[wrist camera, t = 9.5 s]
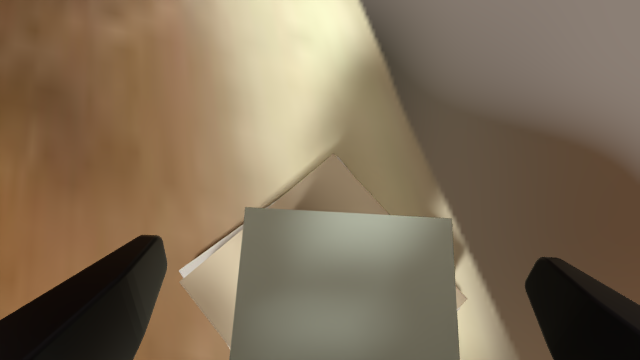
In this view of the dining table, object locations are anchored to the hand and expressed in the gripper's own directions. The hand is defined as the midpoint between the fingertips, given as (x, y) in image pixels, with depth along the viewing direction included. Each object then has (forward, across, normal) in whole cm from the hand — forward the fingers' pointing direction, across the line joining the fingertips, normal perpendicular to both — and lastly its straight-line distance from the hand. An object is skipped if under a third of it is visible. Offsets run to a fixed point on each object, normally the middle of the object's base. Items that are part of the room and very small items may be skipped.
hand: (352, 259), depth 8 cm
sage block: (+5, 0, +7) cm, 9 cm away
